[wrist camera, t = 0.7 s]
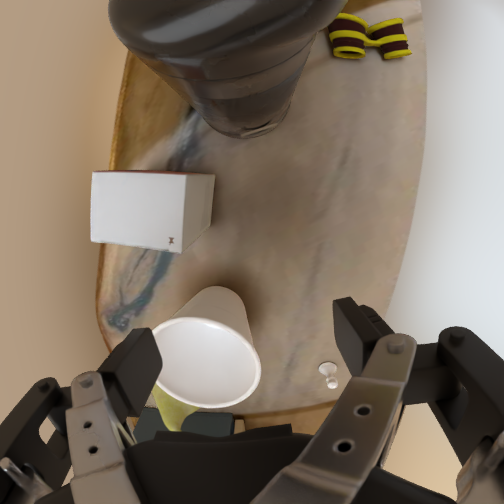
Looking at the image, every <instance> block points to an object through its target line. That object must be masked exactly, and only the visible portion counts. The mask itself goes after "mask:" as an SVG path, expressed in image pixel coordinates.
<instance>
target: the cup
mask: <svg viewBox="0 0 504 504" xmlns="http://www.w3.org/2000/svg"><path fill="white" fill-rule="evenodd" d="M152 333H153V335H154V338H155V341H156V343H157V346H158V349H159V351H160V354H161V357H162V361H163V367H162V370H161V372H160V374H159V376H158V379H157V381H156V384H157V385H158V386H159V387H160V388H161V389H162V390H164V391H165V392H166V393H167V394H169V395H170V396H172V397H174V398H175V399H177V400H179V401H182V402H184V403H186V404H190V405H193V406H197V407H203V408H221V407H228V406H231V405H234V404H237V403H239V402H241V401H243V400H245V399H246V398H247V397H248V396H250V395H251V394H252V393H253V391H254V390H255V389H256V387H257V385H258V383H259V381H260V377H261V363H260V359H259V357H258V354H257V352H256V350H255V349H254V345H253V340H252V337H251V332H250V328H249V324H248V320H247V316H246V311H245V306H244V304H243V301H242V300H241V298H240V297H239V296H238V295H237V294H236V293H235V292H233V291H232V290H230V289H228V288H225V287H221V286H211V287H207V288H205V289H203V290H201V291H200V292H199V293H197V294H196V295H195V296H194V297H193V298H192V299H191V300H190V301H188V302H187V303H186V304H185V305H184V306H183V307H182V308H181V309H180V310H179V311H177V312H176V313H175V314H174V315H173V316H172V317H170V318H169V319H168V320H167V321H165V322H163V323H161V324H159V325H158V326H157V327H156V328H154V329H153V330H152Z"/></svg>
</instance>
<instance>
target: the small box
mask: <svg viewBox="0 0 504 504" xmlns="http://www.w3.org/2000/svg"><path fill="white" fill-rule="evenodd" d="M214 182H215V175H214V174H202V173H188V172H174V171H153V170H108V171H93V174H92V188H91V241H92V242H101V243H111V244H119V245H126V246H134V247H141V248H149V249H155V250H162V251H168V252H172V253H178V254H182V253H183V252H184V251H185V250H186V249H187V248H188V247H189V246H190V245H191V244H192V243H193V242H194V241H195V240H196V239H198V238H199V237H200V236H201V235H202V234H203V233H204V232H205V231H206V230H207V229H208V228H209V227H210V223H211V212H212V201H213V191H214Z"/></svg>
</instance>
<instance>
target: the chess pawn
mask: <svg viewBox="0 0 504 504" xmlns="http://www.w3.org/2000/svg"><path fill="white" fill-rule="evenodd" d="M336 370H337V366H336V365H335V364H333V363H331V362H326V363H323V364H321V365H320V367H319V371H320V372H321V373H322V374H323V375H325V376H327V379H326V382H327V385H328V387H329V388H332V389H334V388H336V387H337V386H338V383H337V379H336V378H335V377H334V376H333V375H334V374H335V372H336Z"/></svg>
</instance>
